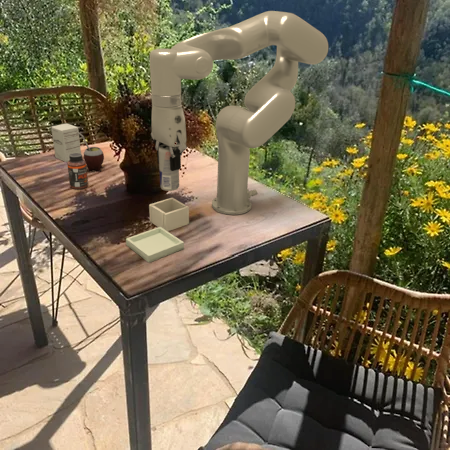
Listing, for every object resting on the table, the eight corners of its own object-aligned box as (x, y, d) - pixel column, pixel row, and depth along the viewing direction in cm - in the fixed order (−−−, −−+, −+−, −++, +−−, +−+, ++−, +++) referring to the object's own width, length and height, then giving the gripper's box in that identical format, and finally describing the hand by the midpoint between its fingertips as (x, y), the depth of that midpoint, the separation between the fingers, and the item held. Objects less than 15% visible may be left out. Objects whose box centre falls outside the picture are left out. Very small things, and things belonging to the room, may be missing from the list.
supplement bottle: (81, 191, 151) (77, 158, 145) (66, 188, 152) (61, 156, 147) (91, 184, 156) (88, 153, 150) (77, 182, 157) (73, 150, 152)
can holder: (172, 213, 138) (172, 197, 136) (188, 223, 133) (188, 207, 130) (149, 221, 134) (149, 204, 131) (165, 232, 128) (165, 214, 126)
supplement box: (55, 158, 177) (50, 126, 171) (71, 153, 182) (67, 122, 176) (65, 162, 173) (61, 130, 167) (82, 158, 178) (78, 126, 172)
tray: (160, 232, 128) (160, 226, 127) (183, 248, 121) (183, 242, 120) (126, 245, 121) (125, 238, 120) (148, 262, 114) (148, 256, 113)
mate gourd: (108, 169, 168) (105, 130, 161) (90, 175, 163) (86, 134, 156) (96, 164, 172) (92, 126, 165) (78, 170, 167) (73, 130, 160)
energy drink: (169, 182, 132) (168, 142, 126) (183, 187, 129) (182, 146, 123) (156, 187, 128) (154, 146, 122) (169, 193, 125) (168, 151, 119)
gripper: (198, 105, 113) (199, 172, 122) (159, 92, 124) (162, 155, 133) (174, 109, 109) (176, 179, 117) (136, 96, 120) (140, 160, 129)
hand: (169, 165), depth 125 cm, fingers closed on energy drink, 5 cm apart
